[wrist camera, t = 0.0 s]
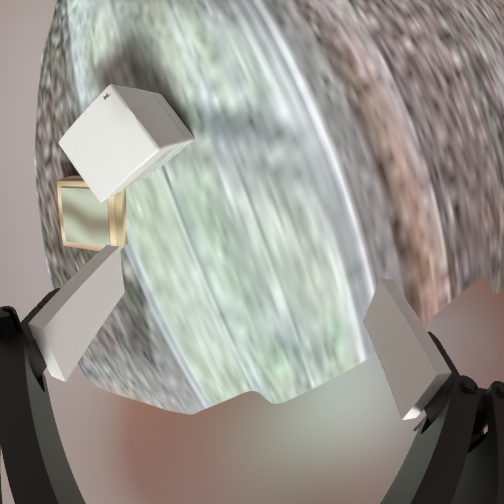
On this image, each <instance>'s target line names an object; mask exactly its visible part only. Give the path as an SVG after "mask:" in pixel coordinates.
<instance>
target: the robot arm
mask: <svg viewBox="0 0 504 504" xmlns="http://www.w3.org/2000/svg"><path fill="white" fill-rule="evenodd" d="M124 293H125V292H124V285H123V276H122V267H121V257H120V246H113V245H106V246H105V247H104V248H103V249H102V250H100V251H99V252H98V253H97V254H96V255H95V256H94V257H93V258H92V259H91V260H90V261H89V262H88V263H86V264H85V265H84V266H83V267H82V268H81V269H80V270H79V271H78V272H77V273H76V274H75V275H74V276H73V277H72V278H71V279H70V280H69V281H68V282H67V283H66V284H65V285H64V286H63V287H62V288H61V289H60V288H57V289H55V290H53V291H52V292H50V293H48V294H47V295H46V296H45V297H44V298H43V299H42V301H41V302H40V303H39V304H38V305H37V307H35V308H34V309H33V310H32V311H31V312H30V313H29V314H28V316H26V317H25V318H24V320H23V321H22V322H21V323H20V321H19V318H18V315H17V312H16V310H15V309H14V308H13V307H10V306H3V307H0V450H1V449H2V454H3V459H4V464H5V469H6V473H7V477H8V481H9V485H10V488H11V492H12V495H13V498H14V502H15V504H85V501H84V499H83V497H82V495H81V493H80V491H79V488H78V486H77V484H76V481H75V479H74V476H73V474H72V471H71V469H70V466H69V463H68V461H67V458H66V455H65V452H64V449H63V446H62V443H61V440H60V436H59V433H58V430H57V426H56V422H55V419H54V415H53V411H52V407H51V403H50V398H49V393H48V388H47V383H46V378H45V376H44V373H43V371H44V370H45V368H46V367H47V368H48V370H49V372H50V374H51V376H52V377H55V378H57V379H60V380H62V381H65V382H66V381H67V380H68V378H69V376H70V375H71V373H72V371H73V370H74V368H75V366H76V365H77V363H78V362H79V360H80V358H81V357H82V355H83V354H84V352H85V350H86V349H87V347H88V346H89V344H90V343H91V341H92V340H93V338H94V336H95V335H96V333H97V332H98V330H99V329H100V327H101V326H102V324H103V323H104V321H105V320H106V318H107V317H108V316H109V314H110V313H111V311H112V310H113V308H114V307H115V305H116V304H117V303H118V301H119V300H120V298H121V297H122V296H123V294H124ZM364 324H365V326H366V328H367V331H368V333H369V335H370V338H371V340H372V343H373V345H374V347H375V350H376V352H377V355H378V357H379V360H380V362H381V365H382V367H383V370H384V372H385V375H386V377H387V380H388V382H389V386H390V388H391V391H392V394H393V396H394V399H395V402H396V404H397V407H398V410H399V413H400V416H401V419H402V420H405V419H411V418H417V416H418V415H419V414H420V413H421V412H422V411H423V409H424V410H425V412H426V416H425V417H424V418H423V420H422V421H421V422H420V423H419V424H418V425H417V426H416V427H415V429H414V431H416V430H417V429H418V428H419V430H418V432H417V435H416V437H415V439H414V441H413V444H412V446H411V448H410V450H409V452H408V454H407V457H406V459H405V461H404V463H403V465H402V467H401V469H400V470H399V472H398V474H397V476H396V478H395V480H394V482H393V483H392V485H391V487H390V489H389V490H388V492H387V494H386V495H385V497H384V499H383V501H382V502H381V504H504V383H502V382H500V381H495V382H493V383H492V384H491V386H490V387H489V388H488V389H482V388H478V386H477V384H476V383H475V382H474V380H472V379H471V378H469V377H467V376H464V375H463V376H460V375H459V373H458V371H457V369H456V368H455V366H454V364H453V363H452V361H451V359H450V358H449V356H448V354H446V351H445V350H444V348H443V346H442V345H441V343H440V342H439V340H438V339H437V338H436V337H435V336H434V335H433V334H432V333H431V332H427V331H426V329H425V327H424V326H423V324H422V323H421V321H420V320H419V318H418V317H417V315H416V314H415V312H414V310H413V309H412V307H411V306H410V305H409V303H408V302H407V300H406V299H405V297H404V296H403V294H402V293H401V291H400V290H399V289H398V287H397V286H396V284H395V283H394V282H393V280H390V279H381V278H380V279H379V282H378V285H377V288H376V290H375V293H374V296H373V298H372V301H371V304H370V306H369V309H368V311H367V314H366V316H365V319H364ZM487 425H488V432H487V433H486V434H484V428H486V426H487ZM0 504H2V494H1V475H0Z"/></svg>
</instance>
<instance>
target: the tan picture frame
mask: <svg viewBox="0 0 504 504" xmlns="http://www.w3.org/2000/svg"><path fill="white" fill-rule="evenodd" d="M57 190H58V204H59V214H60V223H61V231H62V238H63V245H64V246H70V247H76V248H82V249H89V250H96V251H100V250H102V249H103V248H104V247H105V246H106V245H113V246H120V250H121V249H122V248H123V247H124V246H125V245H126V244H127V243H128V242H127V222H126V189H124V190H122V191H120V192H119V193H117V194H115V195H114V196H112V197H110V198H108V199H107V200H105V201H103V202H101V203H100V202H99V200H98V199H97V197H96V196H95V195H94V193H93V192H92V191H91V189H90V188H89V186H88V185H87V184H86V182H85V181H84V180H83V178H82V177H81V176H68V177H66V178H63V179H61V180H58V181H57Z"/></svg>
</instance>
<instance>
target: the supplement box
mask: <svg viewBox="0 0 504 504" xmlns="http://www.w3.org/2000/svg"><path fill="white" fill-rule="evenodd" d="M194 139H195V138H194V137H193V135H192V134H191V133H190V131H189V130H188V129H187V127H186V126H185V125H184V123H183V122H182V121H181V119H180V118H179V117H178V115H177V114H176V113H175V111H174V110H173V109H172V107H171V106H170V105H169V104H168V102H167V101H166V100H165V98H164V97H163V96H162V95H161V94H159V93H155V92H150V91H146V90H141V89H136V88H131V87H126V86H121V85H115V84H109V85H108V86H107V87H106V88H105V89H104V90H103V91H102V92H101V93H100V95H99V96H98V97H97V98H96V99H95V100H94V101H93V102H92V103H91V104H90V105H89V106H88V108H87V109H86V110H85V111H84V112H83V113H82V114H81V116H80V117H79V118H78V119H77V120H76V121H75V122H74V124H73V125H72V126H71V127H70V128H69V130H68V131H67V132H66V133H65V134H64V136H63V137H62V138H61V140H60V141H59V144H60V146H61V147H62V149H63V150H64V152H65V153H66V155H67V156H68V158H69V159H70V161H71V162H72V164H73V165H74V167H75V168H76V170H77V171H78V172H79V174H80V175H81V177H82V178H83V180H84V181H85V182H86V184H87V185H88V186H89V188H90V189H91V191H92V192H93V193H94V195H95V196H96V197H97V199H98V200H99V202H100V203H101V202H103V201H105V200H107V199H108V198H110V197H112V196H114V195H115V194H117V193H119V192H120V191H122V190H124V189H126V188H128V187H129V186H131V185H133V184H135V183H137V182H139V181H140V180H142V179H144V178H146V177H148V176H150V175H152V174H153V173H154V172H156V171H157V170H158V169H159V168H160V167H161V166H163V165H164V164H165V163H166V162H167V161H169V160H170V159H171V158H172V157H174V156H175V155H176V154H177V153H178V152H180V151H181V150H182V149H184V148H185V147H186V146H187V145H189V144H190V143H191V142H192V141H194Z"/></svg>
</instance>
